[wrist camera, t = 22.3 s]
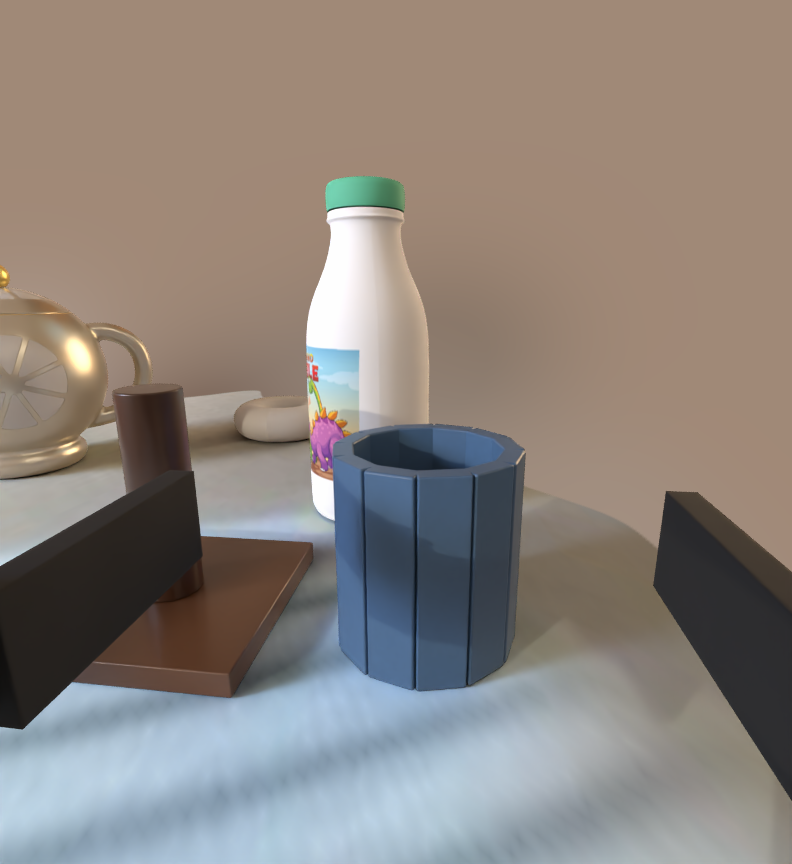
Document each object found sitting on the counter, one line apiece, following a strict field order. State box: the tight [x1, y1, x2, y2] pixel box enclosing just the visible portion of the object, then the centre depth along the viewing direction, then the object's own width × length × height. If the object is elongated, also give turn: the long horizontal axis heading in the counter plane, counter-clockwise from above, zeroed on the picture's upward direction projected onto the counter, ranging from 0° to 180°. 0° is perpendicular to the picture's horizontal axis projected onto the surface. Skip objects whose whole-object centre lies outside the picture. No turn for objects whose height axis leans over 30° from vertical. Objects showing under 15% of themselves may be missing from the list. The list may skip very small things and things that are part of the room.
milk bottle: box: [307, 176, 429, 521], centre depth 32 cm, size 8×8×20 cm
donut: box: [234, 396, 310, 442], centre depth 53 cm, size 10×4×10 cm
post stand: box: [73, 384, 313, 698], centre depth 22 cm, size 10×10×10 cm
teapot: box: [0, 265, 153, 479], centre depth 42 cm, size 18×14×16 cm
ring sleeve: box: [332, 424, 526, 691], centre depth 21 cm, size 7×7×8 cm
